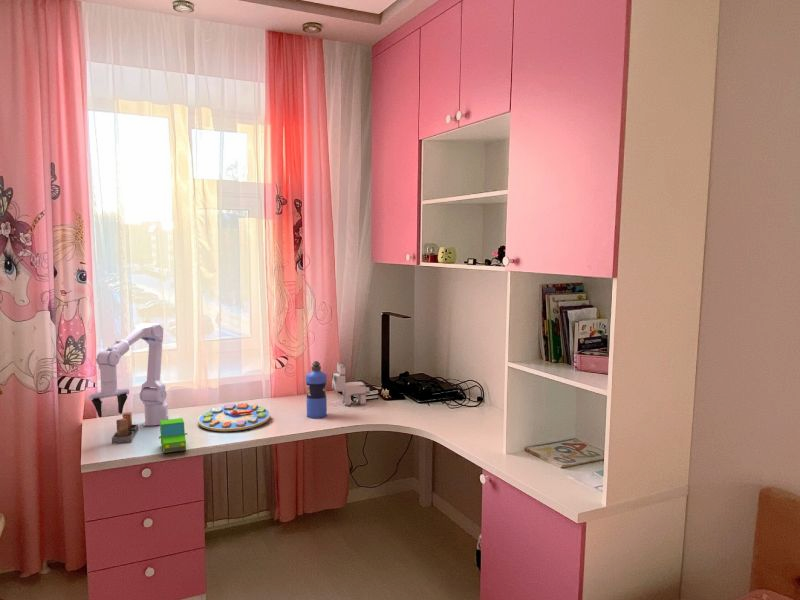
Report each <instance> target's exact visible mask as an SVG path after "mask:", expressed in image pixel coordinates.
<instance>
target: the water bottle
mask: <svg viewBox="0 0 800 600" xmlns="http://www.w3.org/2000/svg"><path fill="white" fill-rule="evenodd" d="M311 365H312V366H311V368H310V369H311V371H310V372H309V373H307V374H305V383H306V390H307V391H306V418H308V419H313V420H314V419H317V420H318V418H319V419H325V418H326V417H327V414H328V413H327V412H328V411H327V409H328V408H327V406H328V405H327V404H328V403H327V400H328V399H327V392H326V388H327V380H328V379H327V375H328V374H327V373H325V372H324V371H321V370H322V367H321V363H320V362H319V360H318V361H317V360H315V361H313V362H312V363H311Z"/></svg>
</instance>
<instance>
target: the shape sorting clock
mask: <svg viewBox="0 0 800 600" xmlns="http://www.w3.org/2000/svg"><path fill="white" fill-rule="evenodd" d="M269 419H271V411H270V410H269V409H267V408H266V407H263V406H259V405H258V404H249V403H239V404H234V403H233V404H232V403H228V404H225V405H224V406H220V407H213V408H211V409H209V410H207V411H205V412H203V413H202V414H200V415H199V416H198V417H197V424H198V425H199V426H200V427H202V429H203V428H205V429H207V430H210V431H216V432H233V431H234V432H235V431H242V430H253V429H254V428H255V427H258V426H261V425H262V424H265V423H266V422H268V421H269ZM253 427H254V428H253ZM252 428H253V429H252Z"/></svg>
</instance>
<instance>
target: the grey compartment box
mask: <svg viewBox="0 0 800 600" xmlns="http://www.w3.org/2000/svg"><path fill="white" fill-rule="evenodd" d="M123 418H124V419H127V420H128V436H125V437H117V431H116V432H115V433H114V434H113V435H112V437H111V444H112V445H113V444H114V443H116V444H128V443H133V440H134V439H133V438H135V437H136V435H137V433H138V432H137V431H139V430H138V429H139V423H137V424H136V423H135V424H133V412H132V411H131V412H128V411H127V412H122V419H123ZM114 445H115V444H114Z"/></svg>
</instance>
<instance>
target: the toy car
mask: <svg viewBox="0 0 800 600" xmlns="http://www.w3.org/2000/svg"><path fill="white" fill-rule="evenodd" d="M159 427H160V430H159V431H160V436H158V439H160V445H161V449H162V454H163V455H165V454H167V453H170V452H171V453H172V452H181V451H183V452H184V451H185V452H187V443H186V442H187V441H186V436H187V435H188V432H187V433H186V432H185V421H184V418H183V417H179V418H177V417H176V418H168V420H160V425H159Z"/></svg>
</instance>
